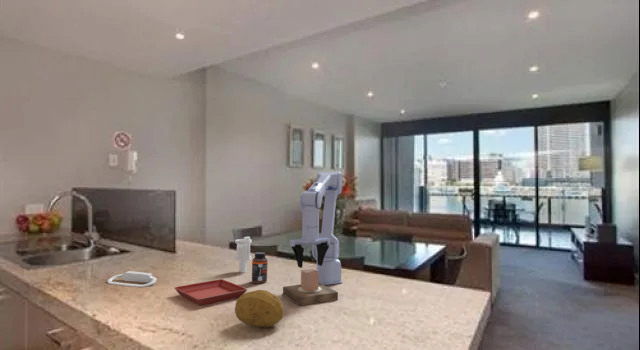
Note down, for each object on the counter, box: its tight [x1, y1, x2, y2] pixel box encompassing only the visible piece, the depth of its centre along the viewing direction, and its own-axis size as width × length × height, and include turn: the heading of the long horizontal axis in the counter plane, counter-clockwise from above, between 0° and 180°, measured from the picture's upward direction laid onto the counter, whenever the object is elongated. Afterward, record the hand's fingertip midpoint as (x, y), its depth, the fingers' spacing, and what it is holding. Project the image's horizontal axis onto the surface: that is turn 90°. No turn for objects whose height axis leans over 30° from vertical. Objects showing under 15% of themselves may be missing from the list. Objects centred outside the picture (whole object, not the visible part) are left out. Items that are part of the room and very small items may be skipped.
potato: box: [234, 289, 285, 329], centre depth 99 cm, size 10×13×9 cm
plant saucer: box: [174, 278, 248, 307], centre depth 124 cm, size 18×18×3 cm
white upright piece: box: [234, 236, 253, 274], centre depth 160 cm, size 7×7×15 cm
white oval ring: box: [107, 270, 158, 288], centre depth 140 cm, size 20×8×4 cm, turn 74°
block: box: [300, 268, 319, 291], centre depth 126 cm, size 4×4×6 cm
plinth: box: [282, 282, 339, 306], centre depth 125 cm, size 14×14×3 cm
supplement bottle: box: [251, 251, 268, 284], centre depth 144 cm, size 6×6×11 cm
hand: (310, 266), depth 126 cm, fingers open, 7 cm apart
